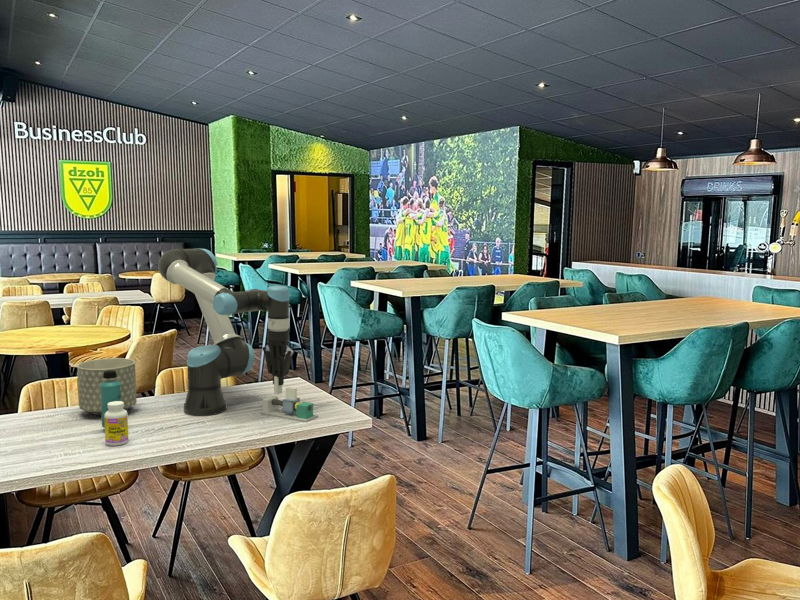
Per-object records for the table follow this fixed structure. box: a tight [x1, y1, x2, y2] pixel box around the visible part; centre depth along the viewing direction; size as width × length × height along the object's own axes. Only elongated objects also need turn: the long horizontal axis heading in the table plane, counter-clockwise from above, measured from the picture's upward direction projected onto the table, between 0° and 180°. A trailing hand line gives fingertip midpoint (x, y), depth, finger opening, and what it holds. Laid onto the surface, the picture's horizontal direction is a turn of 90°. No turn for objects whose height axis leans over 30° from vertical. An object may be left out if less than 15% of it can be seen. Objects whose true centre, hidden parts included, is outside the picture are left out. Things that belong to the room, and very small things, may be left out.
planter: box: [76, 357, 137, 416], centre depth 236 cm, size 19×19×18 cm
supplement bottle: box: [104, 401, 129, 447], centre depth 204 cm, size 7×7×13 cm
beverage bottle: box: [100, 370, 122, 429], centre depth 216 cm, size 6×7×20 cm
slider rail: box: [260, 395, 319, 423], centre depth 235 cm, size 20×7×5 cm, turn 62°
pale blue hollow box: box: [282, 386, 301, 414], centre depth 234 cm, size 4×5×9 cm
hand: (278, 393), depth 237 cm, fingers closed
